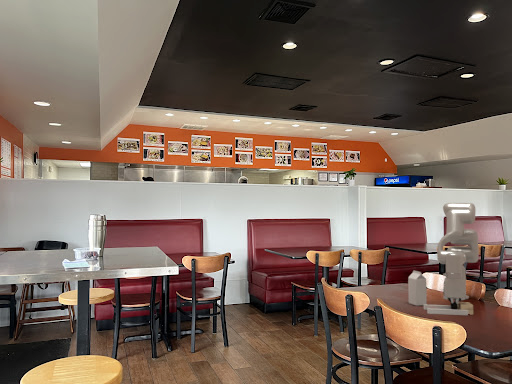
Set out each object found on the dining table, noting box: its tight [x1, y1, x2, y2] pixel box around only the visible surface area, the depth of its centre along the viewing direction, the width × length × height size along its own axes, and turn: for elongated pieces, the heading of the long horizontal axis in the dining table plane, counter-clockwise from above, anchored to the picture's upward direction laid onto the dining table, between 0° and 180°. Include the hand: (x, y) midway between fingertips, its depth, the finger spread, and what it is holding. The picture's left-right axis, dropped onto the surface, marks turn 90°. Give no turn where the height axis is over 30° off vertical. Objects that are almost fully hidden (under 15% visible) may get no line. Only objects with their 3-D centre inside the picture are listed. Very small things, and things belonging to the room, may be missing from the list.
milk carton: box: [407, 269, 428, 306], centre depth 240 cm, size 7×7×19 cm
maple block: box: [458, 301, 474, 316], centre depth 220 cm, size 6×6×5 cm
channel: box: [423, 304, 469, 316], centre depth 222 cm, size 10×20×2 cm, turn 80°
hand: (454, 310), depth 221 cm, fingers closed
